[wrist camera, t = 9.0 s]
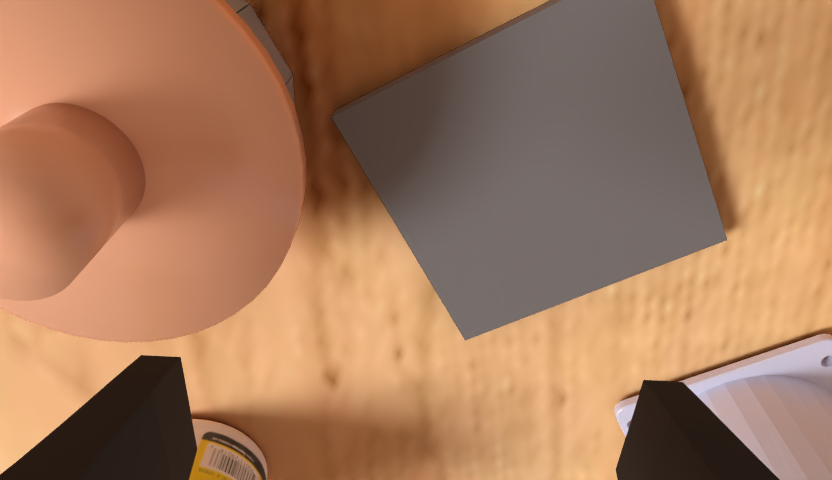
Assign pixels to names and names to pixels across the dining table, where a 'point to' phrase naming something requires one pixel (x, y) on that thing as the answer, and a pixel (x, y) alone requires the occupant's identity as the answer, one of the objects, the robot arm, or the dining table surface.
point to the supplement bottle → (225, 454)
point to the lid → (141, 166)
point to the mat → (539, 160)
